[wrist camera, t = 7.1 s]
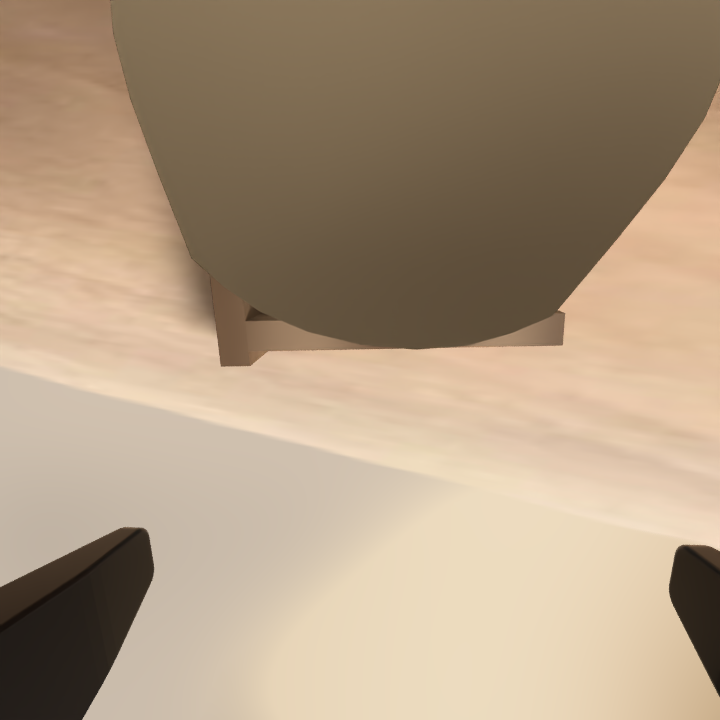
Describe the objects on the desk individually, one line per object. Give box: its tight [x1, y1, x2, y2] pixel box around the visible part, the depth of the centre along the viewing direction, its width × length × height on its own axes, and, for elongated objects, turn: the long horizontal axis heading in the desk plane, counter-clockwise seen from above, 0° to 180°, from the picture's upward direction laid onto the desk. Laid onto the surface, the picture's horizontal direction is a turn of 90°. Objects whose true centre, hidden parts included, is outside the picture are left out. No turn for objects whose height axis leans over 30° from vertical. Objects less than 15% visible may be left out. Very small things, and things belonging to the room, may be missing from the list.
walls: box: [210, 275, 565, 366], centre depth 17 cm, size 13×11×3 cm
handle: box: [110, 0, 720, 349], centre depth 10 cm, size 5×6×15 cm
